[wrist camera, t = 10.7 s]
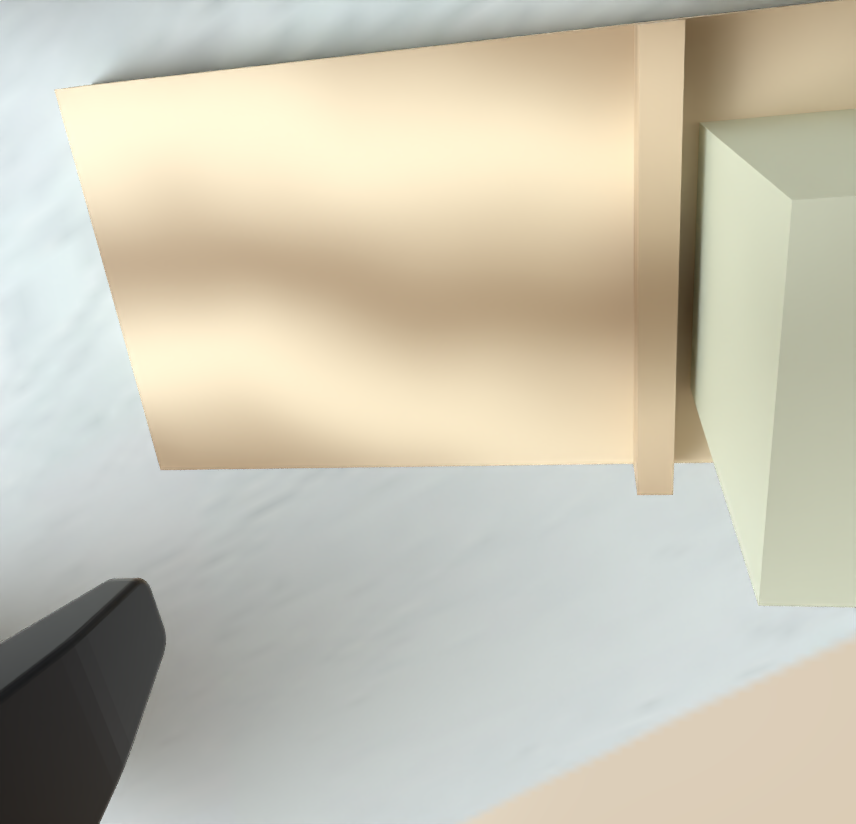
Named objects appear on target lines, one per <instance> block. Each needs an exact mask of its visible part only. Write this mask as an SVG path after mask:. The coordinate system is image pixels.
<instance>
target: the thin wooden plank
mask: <svg viewBox="0 0 856 824" xmlns="http://www.w3.org/2000/svg"><path fill="white" fill-rule="evenodd" d="M55 93H56V97H57V101H58V104H59V108H60V111H61V115H62V118H63V122H64V126H65V129H66V133H67V136H68V140H69V144H70V147H71V151H72V154H73V158H74V161H75V165H76V169H77V172H78V176H79V179H80V183H81V186H82V190H83V194H84V197H85V201H86V204H87V208H88V212H89V215H90V219H91V222H92V226H93V229H94V233H95V237H96V240H97V244H98V247H99V251H100V255H101V258H102V262H103V265H104V269H105V272H106V276H107V280H108V283H109V287H110V290H111V294H112V298H113V301H114V305H115V308H116V312H117V315H118V319H119V323H120V326H121V330H122V333H123V337H124V341H125V344H126V348H127V351H128V355H129V358H130V362H131V366H132V369H133V373H134V376H135V380H136V383H137V387H138V391H139V394H140V398H141V401H142V405H143V409H144V412H145V416H146V419H147V423H148V426H149V430H150V434H151V437H152V441H153V444H154V448H155V452H156V455H157V459H158V462H159V466H160V469H161V470H197V469H272V468H347V467H423V466H498V465H573V464H633V465H634V472H635V480H636V487H637V495H673V474H674V463H714V462H713V459H712V456H711V453H710V449H709V446H708V443H707V440H706V437H705V434H704V430H703V427H702V424H701V421H700V418H699V414H698V411H697V408H696V405H695V402H694V398H693V395H692V392H691V389H690V384H691V355H692V326H693V296H694V267H695V238H696V209H697V180H698V151H699V123H700V122H711V121H723V120H734V119H745V118H756V117H767V116H779V115H790V114H801V113H812V112H823V111H834V110H846V109H856V0H834V1H826V2H817V3H808V4H799V5H790V6H781V7H773V8H764V9H755V10H746V11H737V12H728V13H720V14H711V15H702V16H693V17H684V18H675V19H667V20H658V21H649V22H640V23H631V24H622V25H613V26H605V27H596V28H587V29H578V30H569V31H560V32H552V33H543V34H534V35H525V36H516V37H507V38H499V39H490V40H481V41H472V42H463V43H454V44H446V45H437V46H428V47H419V48H410V49H401V50H393V51H384V52H375V53H366V54H357V55H348V56H340V57H331V58H322V59H313V60H304V61H295V62H287V63H278V64H269V65H260V66H251V67H242V68H234V69H225V70H216V71H207V72H198V73H189V74H181V75H172V76H163V77H154V78H145V79H136V80H128V81H119V82H110V83H101V84H92V85H84V86H77V87H70V88H63V89H56V90H55Z"/></svg>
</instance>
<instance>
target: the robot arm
mask: <svg viewBox="0 0 856 824" xmlns="http://www.w3.org/2000/svg"><path fill="white" fill-rule="evenodd" d="M165 645H166V634H165V629H164V626H163V623H162V620H161V617H160V614H159V611H158V608H157V605H156V602H155V599H154V597H153V594H152V591H151V588H150V586H149V584H148V583H147V582H146V581H145V580H143V579H141V578H114V579H110V580H108V581H106V582H104V583H102V584H101V585H99V586H97V587H95V588H94V589H92V590H90V591H89V592H87V593H85V594H84V595H82V596H80V597H78V598H77V599H75V600H73V601H72V602H70V603H68V604H67V605H65V606H63V607H61V608H60V609H58V610H56V611H55V612H53V613H51V614H50V615H48V616H46V617H44V618H43V619H41V620H39V621H38V622H36V623H34V624H33V625H31V626H29V627H28V628H26V629H24V630H22V631H21V632H19V633H17V634H16V635H14V636H12V637H11V638H9V639H7V640H5V641H4V642H2V643H0V824H99V823H100V821H101V819H102V817H103V815H104V812H105V810H106V808H107V806H108V804H109V801H110V799H111V797H112V795H113V793H114V790H115V788H116V786H117V784H118V781H119V779H120V777H121V774H122V772H123V769H124V767H125V764H126V762H127V759H128V756H129V754H130V751H131V748H132V746H133V743H134V740H135V737H136V734H137V731H138V728H139V725H140V722H141V719H142V716H143V713H144V710H145V707H146V704H147V701H148V698H149V696H150V693H151V690H152V687H153V684H154V681H155V678H156V675H157V672H158V669H159V666H160V663H161V660H162V657H163V654H164V651H165Z"/></svg>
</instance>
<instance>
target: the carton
mask: <svg viewBox="0 0 856 824" xmlns="http://www.w3.org/2000/svg"><path fill="white" fill-rule="evenodd" d="M690 389H691V392H692V395H693V398H694V402H695V405H696V408H697V411H698V414H699V418H700V421H701V424H702V427H703V430H704V434H705V437H706V440H707V443H708V446H709V449H710V453H711V456H712V459H713V462H714V465H715V469H716V472H717V475H718V478H719V481H720V485H721V488H722V491H723V494H724V497H725V500H726V504H727V507H728V510H729V513H730V516H731V520H732V523H733V526H734V529H735V532H736V535H737V539H738V542H739V545H740V548H741V551H742V555H743V558H744V561H745V564H746V567H747V571H748V574H749V577H750V580H751V583H752V586H753V590H754V593H755V596H756V599H757V602H758V606H806V607H856V109H846V110H834V111H823V112H812V113H801V114H790V115H779V116H767V117H756V118H745V119H734V120H723V121H711V122H700V123H699V151H698V180H697V209H696V238H695V267H694V296H693V326H692V355H691V384H690Z"/></svg>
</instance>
